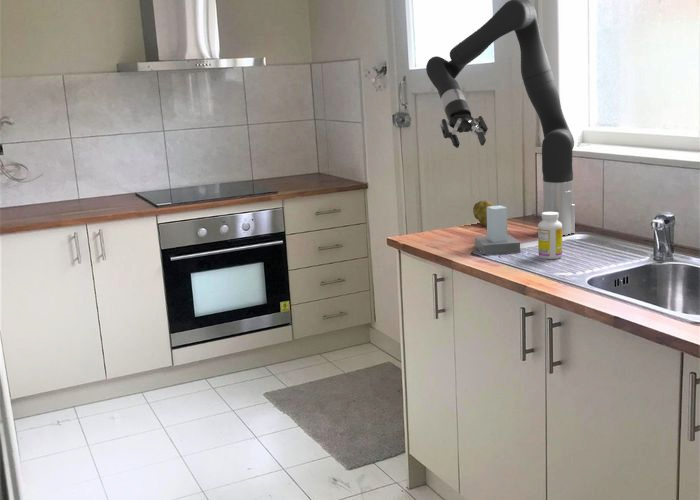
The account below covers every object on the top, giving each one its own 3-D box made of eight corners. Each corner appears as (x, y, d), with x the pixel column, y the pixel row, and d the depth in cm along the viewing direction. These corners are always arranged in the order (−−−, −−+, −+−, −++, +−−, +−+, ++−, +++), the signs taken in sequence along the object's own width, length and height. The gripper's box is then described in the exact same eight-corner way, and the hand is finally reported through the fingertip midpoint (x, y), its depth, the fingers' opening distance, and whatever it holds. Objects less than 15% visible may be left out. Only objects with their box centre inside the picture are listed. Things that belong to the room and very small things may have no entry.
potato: (481, 229, 263) (481, 206, 261) (470, 222, 276) (470, 200, 274) (505, 227, 264) (505, 204, 262) (493, 220, 277) (493, 198, 275)
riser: (509, 244, 241) (509, 234, 241) (520, 252, 231) (520, 242, 230) (474, 246, 241) (474, 237, 240) (483, 255, 230) (483, 245, 229)
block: (500, 237, 238) (500, 205, 235) (507, 240, 233) (507, 207, 231) (487, 239, 237) (486, 206, 234) (493, 242, 232) (493, 209, 230)
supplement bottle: (560, 253, 227) (560, 210, 224) (563, 259, 220) (564, 215, 217) (536, 254, 227) (536, 211, 224) (539, 260, 221) (539, 215, 218)
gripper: (437, 100, 247) (452, 139, 239) (479, 96, 250) (495, 135, 242) (432, 116, 253) (446, 154, 245) (472, 112, 256) (488, 150, 248)
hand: (470, 145), depth 243 cm, fingers open, 8 cm apart
